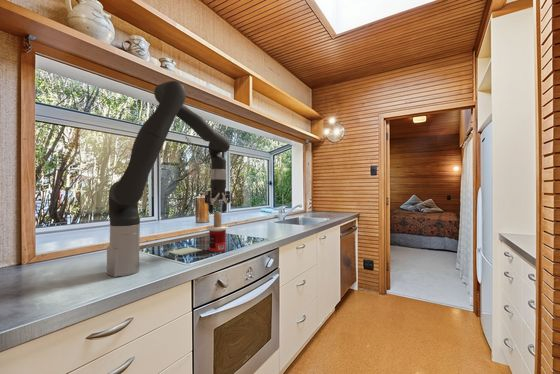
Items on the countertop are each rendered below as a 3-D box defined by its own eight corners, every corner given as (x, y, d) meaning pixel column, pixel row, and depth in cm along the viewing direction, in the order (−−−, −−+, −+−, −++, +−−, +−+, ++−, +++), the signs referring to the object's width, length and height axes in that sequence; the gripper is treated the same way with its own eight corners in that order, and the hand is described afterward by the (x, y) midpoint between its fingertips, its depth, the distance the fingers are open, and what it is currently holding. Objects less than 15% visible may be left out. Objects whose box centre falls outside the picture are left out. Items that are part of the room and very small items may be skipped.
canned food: (227, 249, 127) (227, 227, 128) (222, 253, 120) (222, 230, 120) (212, 249, 128) (212, 227, 128) (206, 253, 120) (206, 229, 120)
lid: (216, 231, 117) (216, 213, 117) (202, 229, 123) (202, 212, 123) (232, 228, 125) (232, 212, 125) (218, 226, 131) (218, 211, 131)
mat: (180, 256, 114) (180, 255, 114) (167, 253, 120) (167, 251, 120) (202, 251, 124) (202, 249, 124) (189, 248, 129) (189, 247, 129)
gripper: (212, 178, 116) (211, 213, 116) (234, 179, 128) (233, 211, 128) (201, 178, 120) (200, 212, 120) (223, 179, 132) (223, 210, 132)
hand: (217, 212), depth 124 cm, fingers open, 8 cm apart
